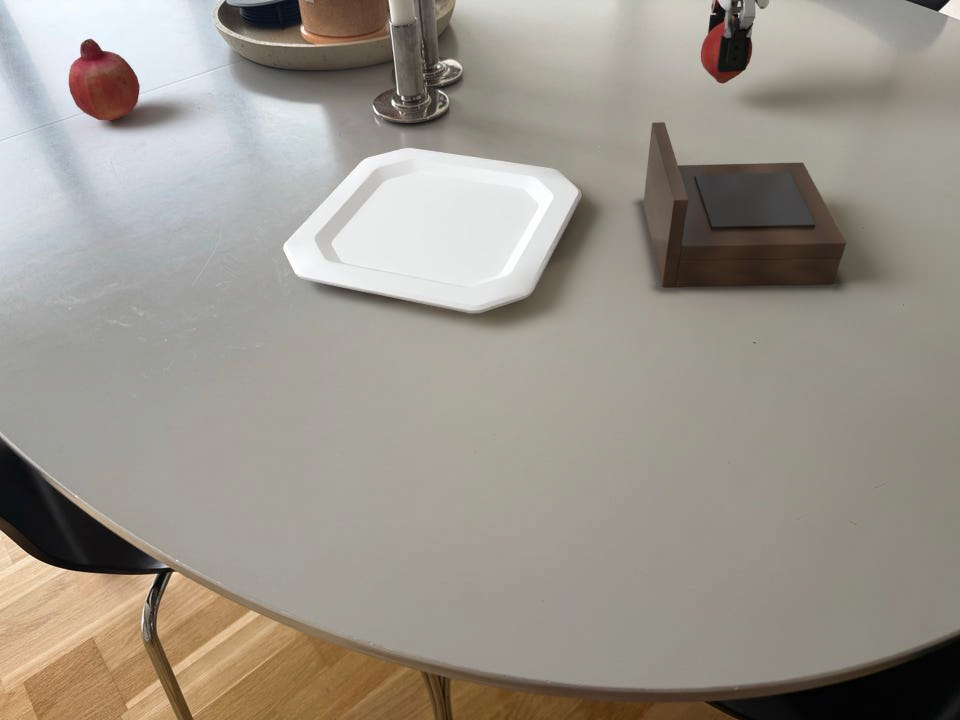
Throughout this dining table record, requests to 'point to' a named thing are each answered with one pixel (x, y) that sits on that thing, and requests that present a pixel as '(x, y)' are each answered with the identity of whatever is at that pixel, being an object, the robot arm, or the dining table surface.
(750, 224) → the wooden bookend stand
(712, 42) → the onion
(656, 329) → the dining table surface
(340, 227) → the plate
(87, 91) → the fruit
